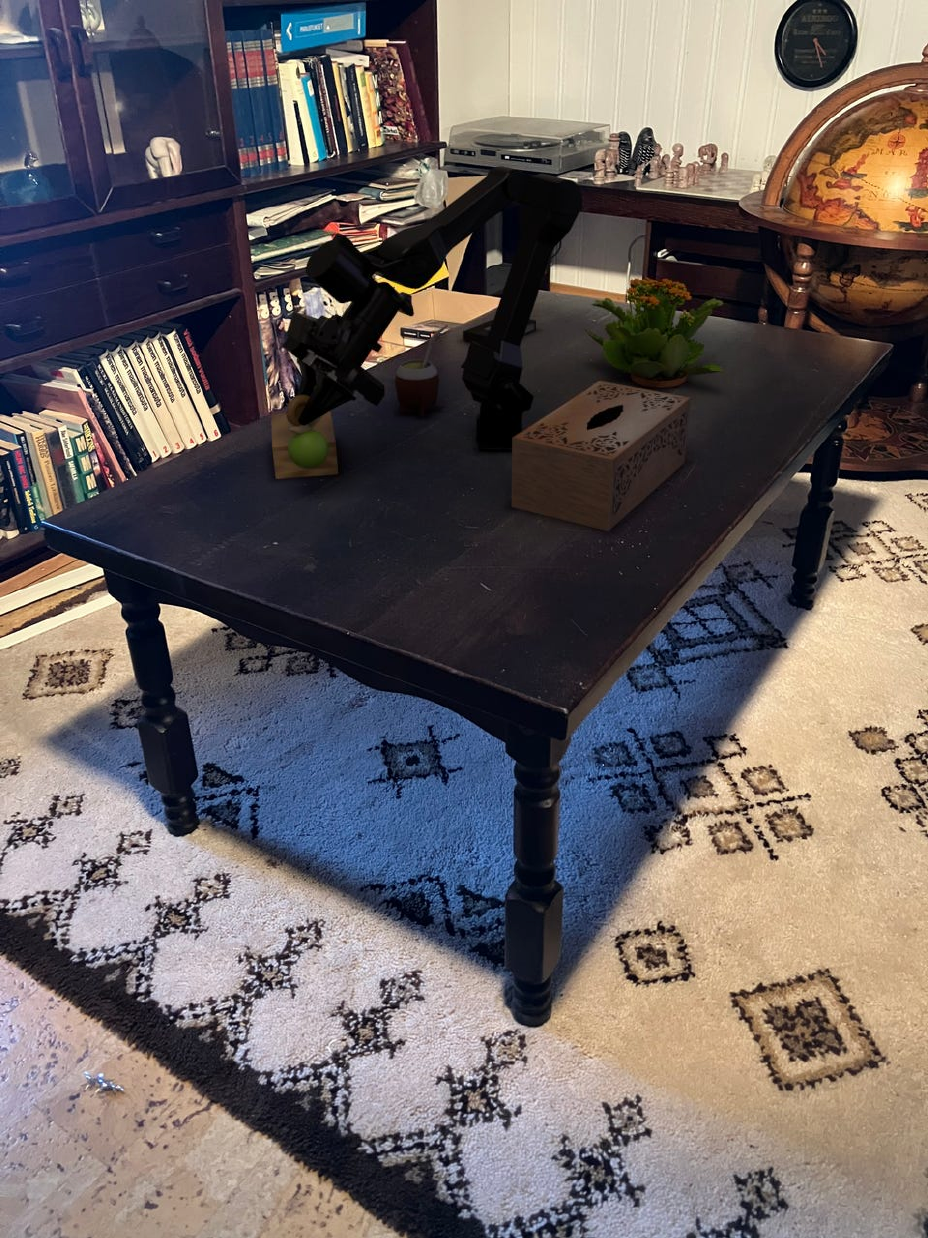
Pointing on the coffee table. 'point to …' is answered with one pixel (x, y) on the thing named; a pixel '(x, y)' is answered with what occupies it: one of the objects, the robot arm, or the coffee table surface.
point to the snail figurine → (305, 437)
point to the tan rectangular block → (281, 455)
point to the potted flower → (655, 334)
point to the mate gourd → (418, 384)
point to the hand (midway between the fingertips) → (297, 421)
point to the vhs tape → (483, 329)
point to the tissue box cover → (599, 454)
